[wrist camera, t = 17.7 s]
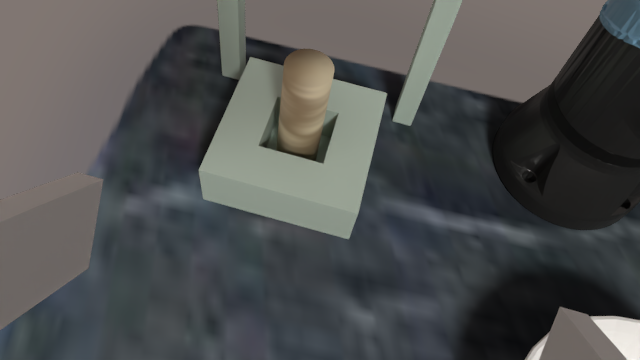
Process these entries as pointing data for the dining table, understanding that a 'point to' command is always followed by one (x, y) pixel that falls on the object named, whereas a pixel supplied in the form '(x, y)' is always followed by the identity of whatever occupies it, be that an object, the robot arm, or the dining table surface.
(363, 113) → the socket
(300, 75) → the dowel
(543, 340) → the bowl
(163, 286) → the dining table surface
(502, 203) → the dining table surface
